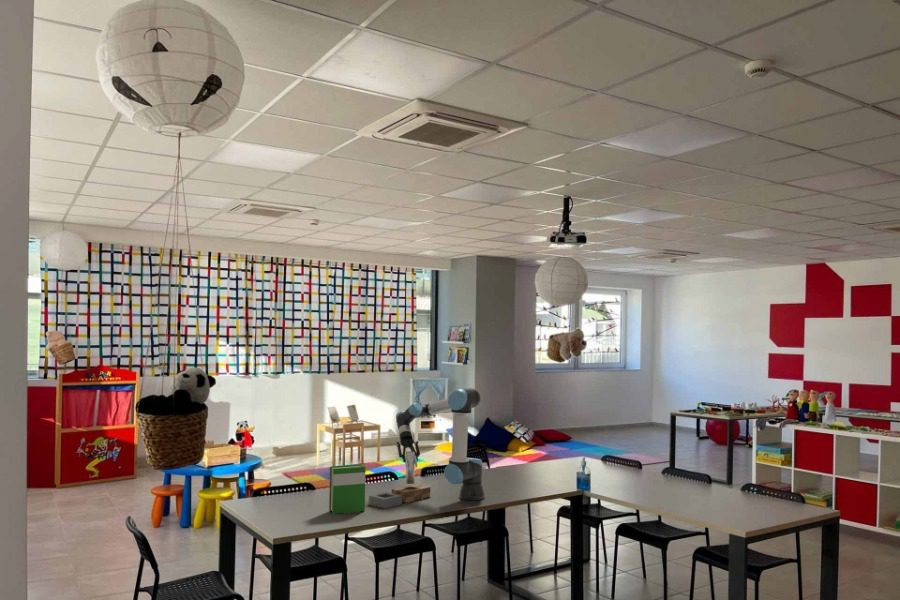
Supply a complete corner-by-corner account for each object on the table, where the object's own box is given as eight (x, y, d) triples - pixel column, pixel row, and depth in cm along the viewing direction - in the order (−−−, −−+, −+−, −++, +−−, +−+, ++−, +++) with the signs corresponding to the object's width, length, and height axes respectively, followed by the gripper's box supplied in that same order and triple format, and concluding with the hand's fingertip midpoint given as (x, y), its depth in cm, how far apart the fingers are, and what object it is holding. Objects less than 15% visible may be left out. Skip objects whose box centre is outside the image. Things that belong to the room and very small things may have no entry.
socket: (401, 504, 385) (401, 495, 385) (384, 508, 375) (384, 499, 376) (386, 501, 394) (386, 492, 394) (368, 504, 384) (369, 495, 385)
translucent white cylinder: (416, 482, 402) (416, 451, 403) (410, 484, 398) (410, 452, 399) (410, 481, 405) (410, 451, 406) (404, 483, 402) (404, 451, 403)
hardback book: (332, 514, 361) (333, 468, 363) (329, 511, 368) (330, 466, 370) (364, 511, 369) (365, 466, 370) (360, 508, 375) (361, 464, 377)
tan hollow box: (430, 497, 404) (430, 487, 404) (405, 503, 389) (405, 492, 390) (415, 494, 412) (416, 484, 412) (391, 499, 397) (391, 489, 398)
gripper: (418, 437, 421) (425, 469, 404) (389, 438, 415) (395, 470, 399) (420, 429, 416) (427, 461, 399) (391, 430, 411) (397, 463, 394)
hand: (411, 466), depth 399 cm, fingers closed on translucent white cylinder, 5 cm apart
